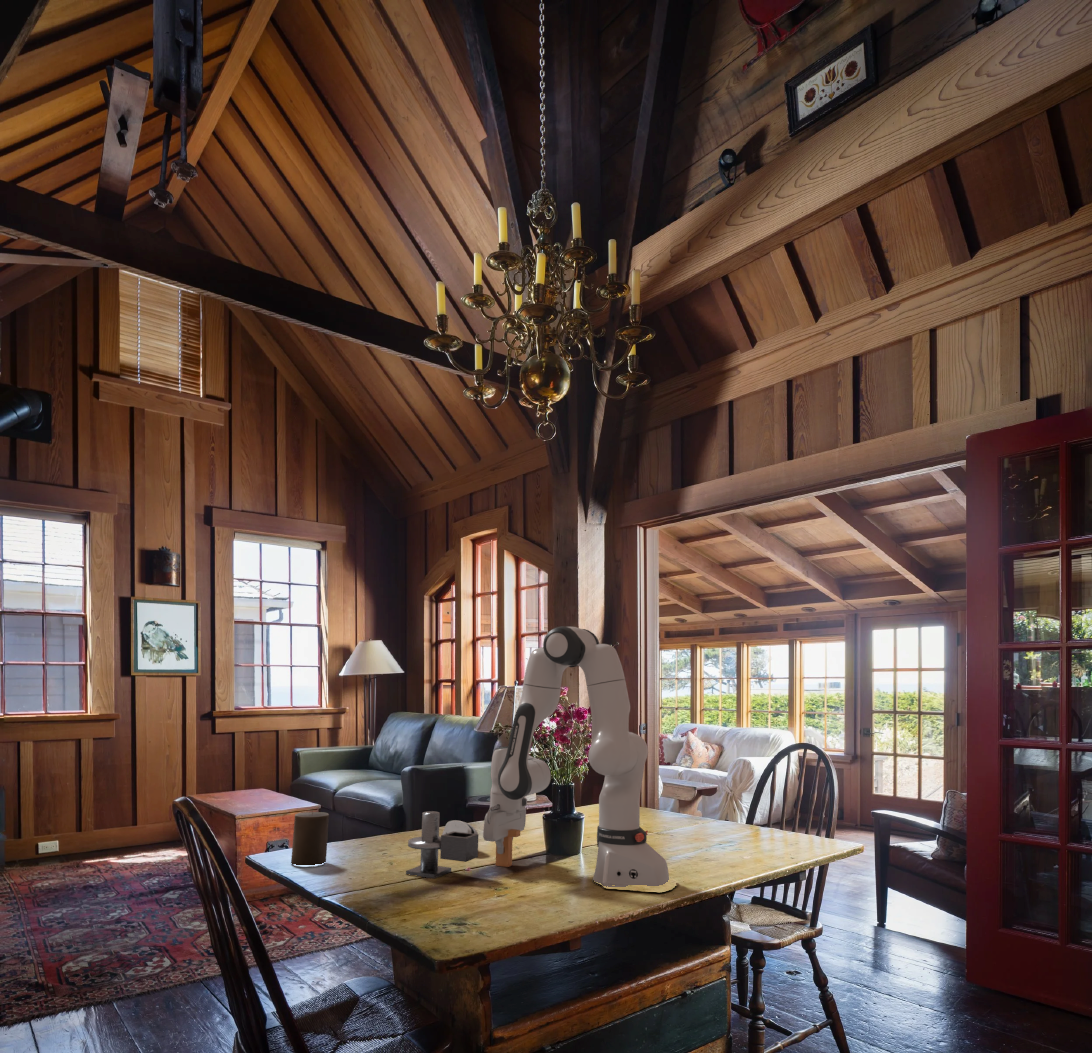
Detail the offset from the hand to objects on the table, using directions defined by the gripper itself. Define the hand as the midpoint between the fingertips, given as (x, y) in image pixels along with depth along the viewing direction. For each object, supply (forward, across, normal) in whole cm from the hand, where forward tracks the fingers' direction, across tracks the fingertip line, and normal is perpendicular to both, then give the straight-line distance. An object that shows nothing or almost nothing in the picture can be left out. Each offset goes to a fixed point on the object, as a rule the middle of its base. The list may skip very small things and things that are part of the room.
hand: (504, 852), depth 242 cm
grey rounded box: (+4, +10, +22) cm, 24 cm away
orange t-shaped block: (+4, 0, 0) cm, 4 cm away
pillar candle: (+4, -25, +50) cm, 56 cm away
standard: (+4, -18, +10) cm, 21 cm away
